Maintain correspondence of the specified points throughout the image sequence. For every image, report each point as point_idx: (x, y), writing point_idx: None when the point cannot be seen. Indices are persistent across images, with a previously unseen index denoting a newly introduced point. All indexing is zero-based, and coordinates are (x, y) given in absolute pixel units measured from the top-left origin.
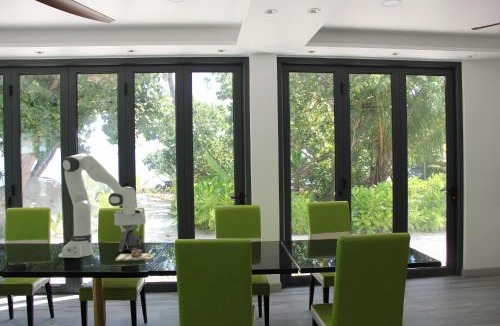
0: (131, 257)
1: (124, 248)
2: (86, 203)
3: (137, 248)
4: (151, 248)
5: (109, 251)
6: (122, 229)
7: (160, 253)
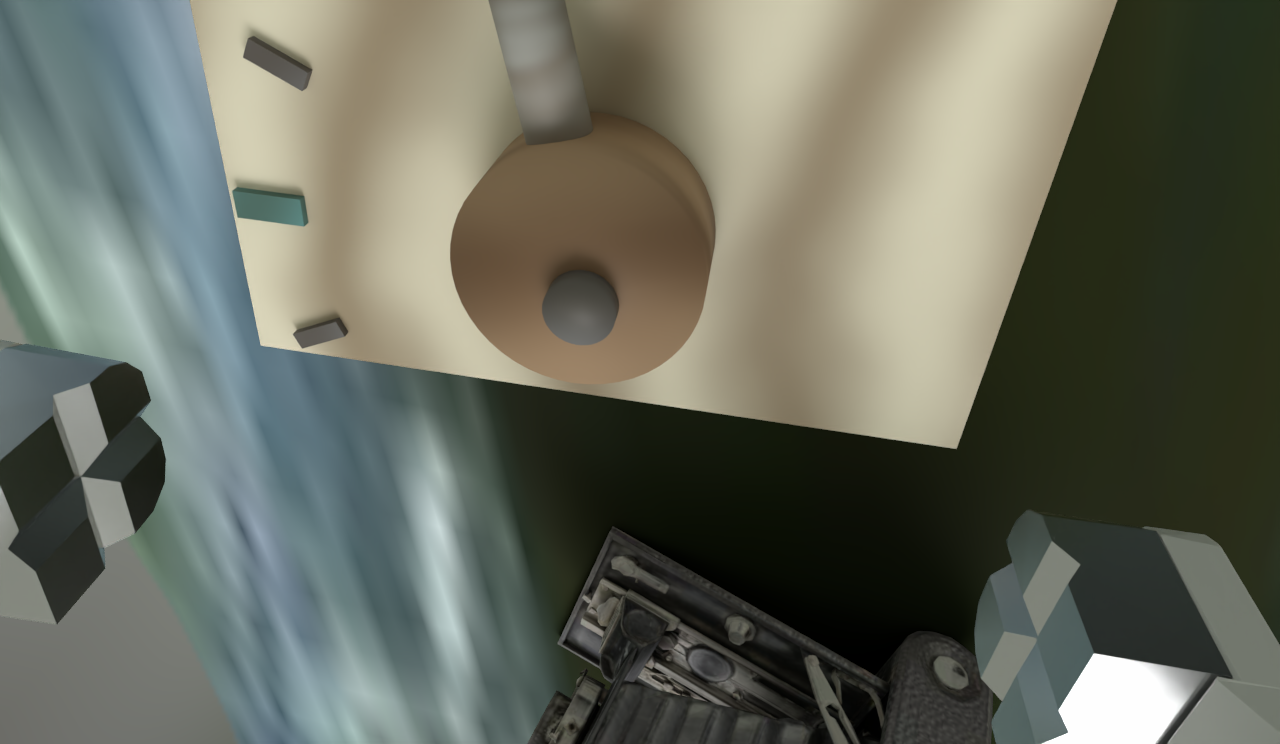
0: (695, 78)
1: (880, 681)
2: None
3: (640, 636)
4: (468, 709)
5: None
6: (1221, 673)
7: (222, 400)
